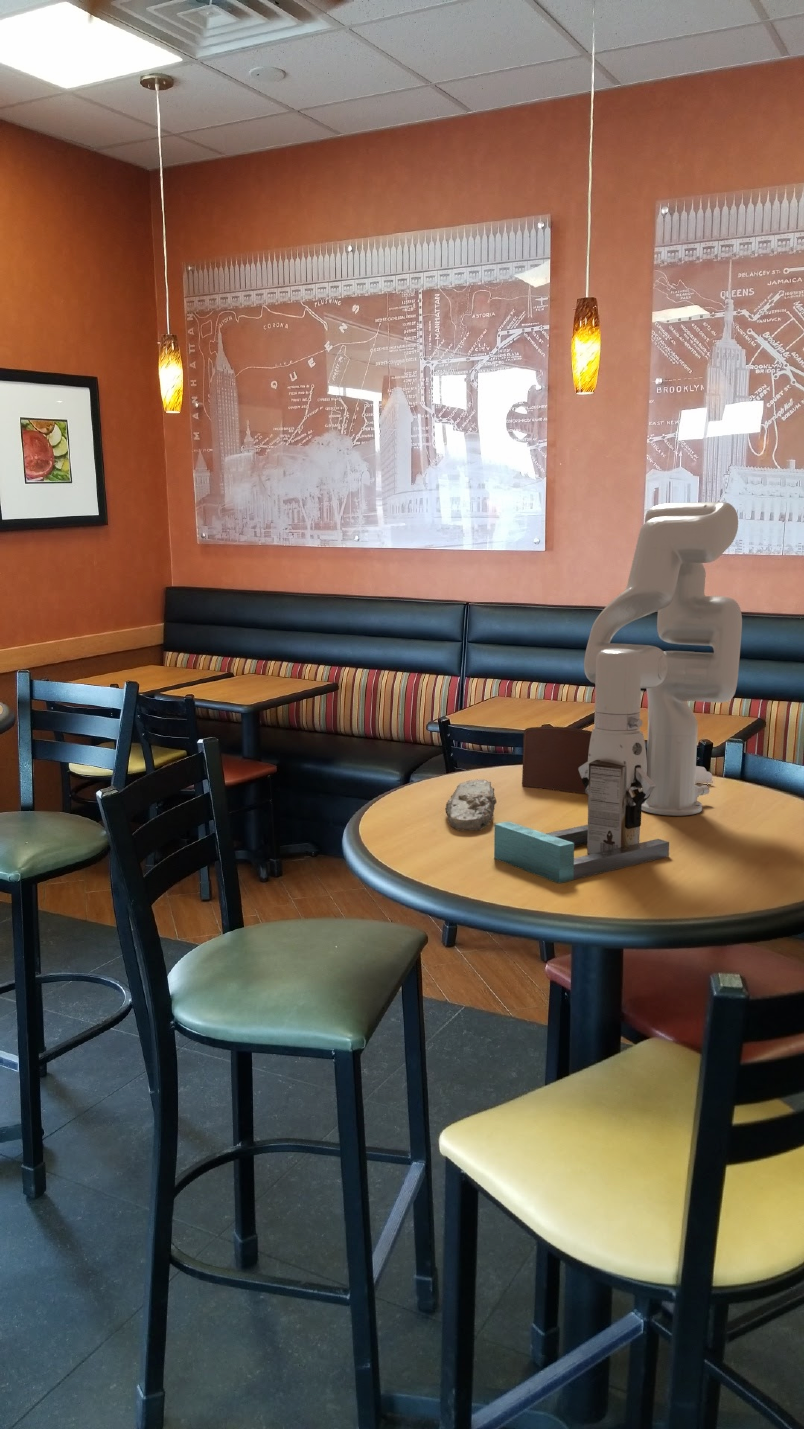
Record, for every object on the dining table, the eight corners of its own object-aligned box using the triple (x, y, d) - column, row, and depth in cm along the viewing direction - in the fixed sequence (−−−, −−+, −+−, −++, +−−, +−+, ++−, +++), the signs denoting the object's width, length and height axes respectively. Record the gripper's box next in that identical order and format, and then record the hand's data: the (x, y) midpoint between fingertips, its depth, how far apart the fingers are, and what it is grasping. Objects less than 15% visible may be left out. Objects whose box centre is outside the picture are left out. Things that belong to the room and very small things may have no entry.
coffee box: (605, 841, 185) (608, 752, 182) (640, 846, 181) (643, 756, 179) (585, 853, 177) (588, 762, 175) (621, 859, 174) (624, 766, 171)
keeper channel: (600, 835, 189) (601, 803, 188) (668, 856, 176) (670, 822, 175) (494, 858, 175) (494, 823, 174) (559, 883, 162) (559, 846, 161)
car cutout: (715, 784, 231) (716, 764, 230) (711, 790, 225) (711, 770, 224) (648, 778, 237) (648, 759, 236) (641, 784, 231) (642, 764, 230)
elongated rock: (499, 797, 224) (453, 799, 225) (498, 773, 223) (452, 775, 224) (496, 833, 189) (441, 834, 190) (494, 804, 189) (440, 806, 190)
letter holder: (607, 798, 217) (609, 732, 215) (521, 787, 227) (522, 724, 225) (623, 788, 226) (625, 725, 223) (539, 778, 236) (540, 717, 233)
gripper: (671, 726, 171) (667, 829, 173) (596, 713, 185) (593, 808, 188) (639, 731, 166) (636, 836, 169) (565, 717, 181) (563, 814, 183)
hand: (613, 821), depth 178 cm, fingers closed on coffee box, 8 cm apart
